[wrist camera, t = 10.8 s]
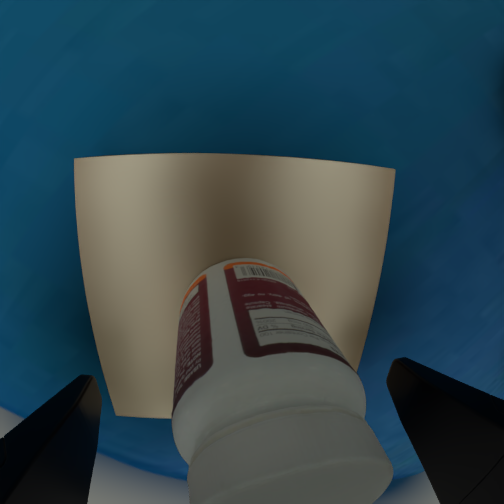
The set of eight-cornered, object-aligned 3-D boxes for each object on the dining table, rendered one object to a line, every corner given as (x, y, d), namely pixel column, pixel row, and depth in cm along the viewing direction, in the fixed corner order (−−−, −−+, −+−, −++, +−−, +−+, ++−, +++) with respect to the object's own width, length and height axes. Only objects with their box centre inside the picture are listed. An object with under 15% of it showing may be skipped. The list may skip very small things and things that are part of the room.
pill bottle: (218, 376, 13) (244, 557, 5) (156, 291, 11) (113, 502, 3) (317, 328, 13) (416, 491, 5) (270, 231, 11) (401, 399, 3)
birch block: (361, 164, 14) (395, 169, 11) (328, 370, 18) (346, 403, 15) (99, 156, 12) (74, 158, 9) (125, 378, 16) (116, 415, 13)
